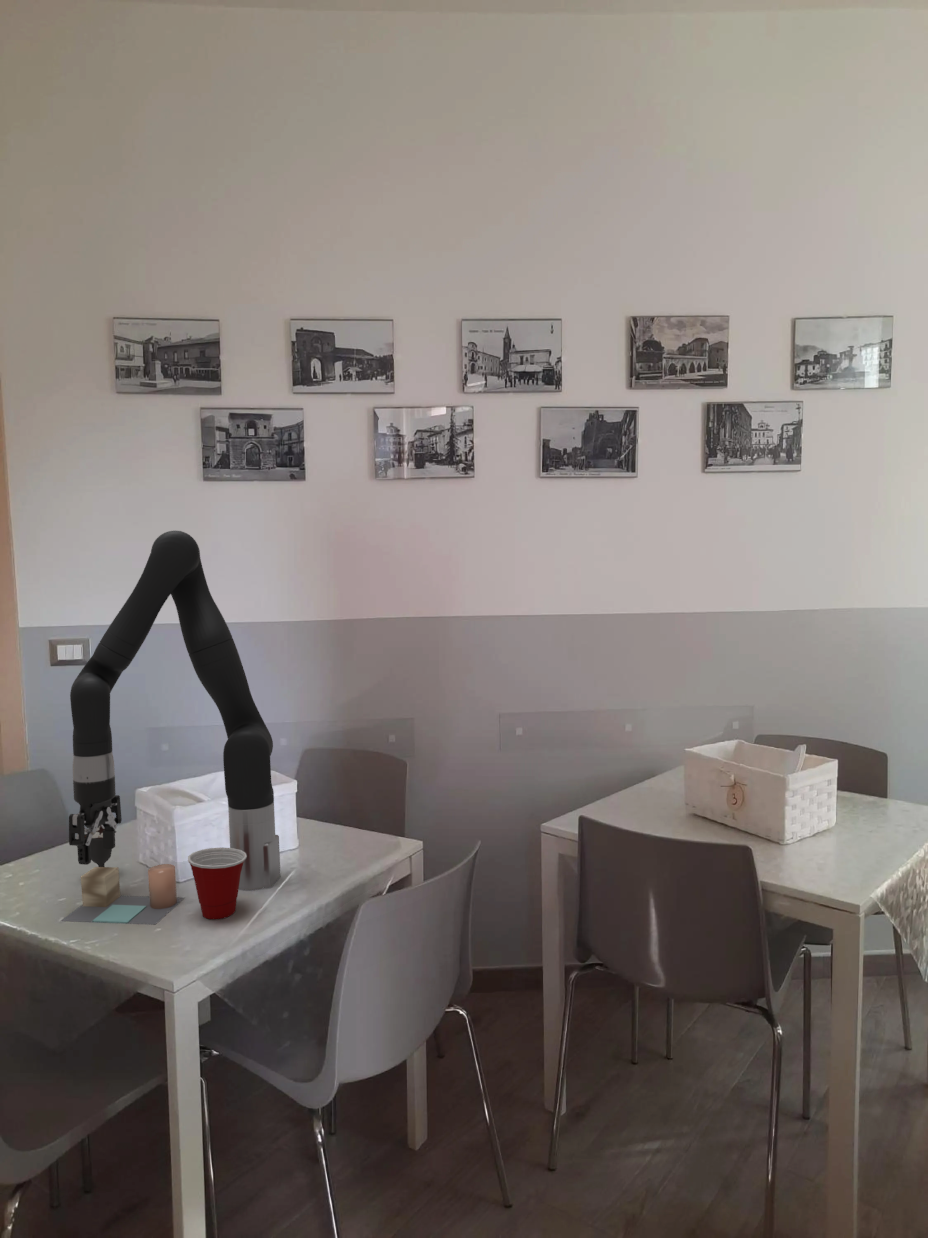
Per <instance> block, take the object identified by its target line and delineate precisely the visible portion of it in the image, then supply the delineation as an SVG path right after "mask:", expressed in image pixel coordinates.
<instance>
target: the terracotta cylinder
mask: <svg viewBox="0 0 928 1238" xmlns="http://www.w3.org/2000/svg"><path fill="white" fill-rule="evenodd" d="M147 875H148V876H147V879H148V892H149V894H148V895H149V897H150V907H151V908H154V909H163V908H168V907H171V906H173V905H175V904H176V903H177V894H178V893H177V878H176V865H174V864H170V863H161V864H156V865H154V866H150V867H149V869H148V870H147Z"/></svg>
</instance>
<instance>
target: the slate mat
mask: <svg viewBox="0 0 928 1238" xmlns="http://www.w3.org/2000/svg"><path fill="white" fill-rule="evenodd" d="M184 899H185V897H181V896H180V897H177V903H176V904H175V905H173V906H171V907H168V908H163V909H154V908H151V907H150V897H149V896H148V895H147V896H146V895H145V896H144V895H124V894H123V895H121V894H120V897H119V898H118V899H116V900H115V901H114V902H112V903H111V904H110V905H109V906H107V907H90V906H83V904H81V905H80V906H79V907H77V908H76V909H74V910H73V911H72V912H70V913H68V914H67V915H66V916H65V917H63V918H62V919H61V920H60V922H71V923H72V922H74V923H75V922H76V923H93V922H92V920H94V919H95V918H96V917H98V916H99V915H100V914H101V913H103V912H104V911H105V910H107V909H108V908H109V907H110V906H112V905H136V906H146V908H145V909H144V910H143V911H142V912H140V913H139V914H138V915H137V916H136V917H135V918H133V919H132V920H131V921H130V922H129V923H121V925H122V924H125V925H126V924H127V925H147V926H149V925H151V926H152V925H153V926H155V925H157V924H158V923H159V922H160V921H161V920H162V919H163V918H164V917H166V916H167V915H168V914H169V913H171V911H172V910H174V909H175V908H176V907H177V906H178V904H180V903H181V902H182V901H184ZM95 923H101V924H103V923H102V922H95Z"/></svg>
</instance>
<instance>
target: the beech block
mask: <svg viewBox="0 0 928 1238" xmlns="http://www.w3.org/2000/svg"><path fill="white" fill-rule="evenodd" d="M119 870H120V869H119V867H117V866H116V867H113V866H112V867H111V866H105V867H98V866H95V867H93V868H91V869H90V870H89V871H87V872H85V873H83V874H82V875H81V876H80V885H81V901H82V902H81V903H82V904H81V905H83V906H90V907H107V906H109V905H110V904H111V903H112V902H114V901H115V900H116V899H118V898H119V897H120V895H121V889H120V887H121V886H120V871H119Z"/></svg>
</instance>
